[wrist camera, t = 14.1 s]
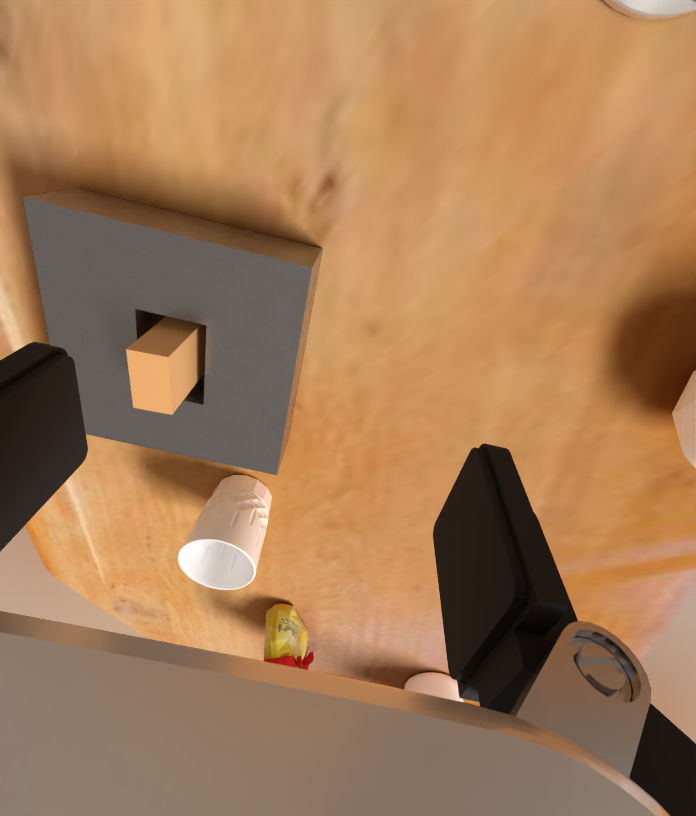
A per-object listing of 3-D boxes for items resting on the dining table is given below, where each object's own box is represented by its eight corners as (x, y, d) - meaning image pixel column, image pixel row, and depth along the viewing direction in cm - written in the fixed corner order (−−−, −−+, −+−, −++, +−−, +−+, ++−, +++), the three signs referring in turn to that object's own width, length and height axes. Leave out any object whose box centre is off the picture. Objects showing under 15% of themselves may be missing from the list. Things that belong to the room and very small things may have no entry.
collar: (322, 248, 35) (312, 267, 30) (288, 437, 46) (276, 475, 41) (76, 187, 34) (22, 196, 29) (101, 396, 45) (65, 429, 39)
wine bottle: (393, 687, 73) (397, 976, 48) (423, 663, 68) (445, 972, 43) (439, 703, 75) (467, 990, 50) (472, 681, 70) (521, 987, 45)
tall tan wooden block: (215, 308, 38) (168, 357, 30) (215, 357, 41) (172, 414, 33) (182, 302, 38) (126, 349, 30) (184, 352, 41) (133, 407, 33)
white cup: (286, 513, 52) (267, 586, 44) (228, 522, 54) (199, 593, 45) (262, 464, 48) (236, 534, 40) (200, 475, 50) (162, 545, 41)
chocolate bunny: (288, 641, 68) (266, 757, 55) (261, 601, 62) (230, 719, 50) (329, 637, 66) (316, 755, 54) (305, 596, 61) (284, 716, 48)
